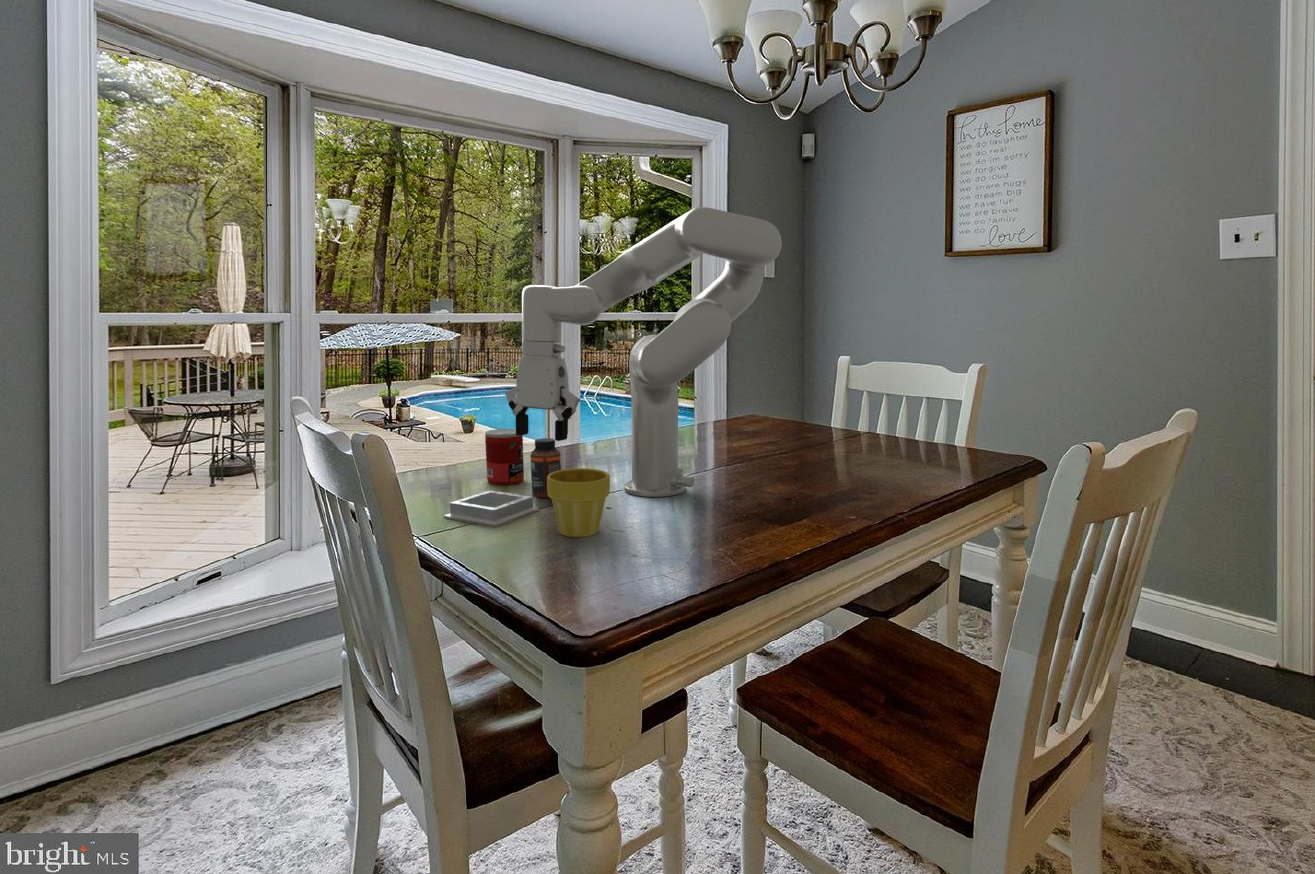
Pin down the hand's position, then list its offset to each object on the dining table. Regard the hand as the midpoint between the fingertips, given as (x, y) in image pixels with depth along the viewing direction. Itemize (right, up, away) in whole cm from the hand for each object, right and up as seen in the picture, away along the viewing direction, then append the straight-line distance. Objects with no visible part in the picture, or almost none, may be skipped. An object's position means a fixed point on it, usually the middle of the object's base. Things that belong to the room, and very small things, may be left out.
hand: (541, 437), depth 145 cm
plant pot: (+10, -16, -22) cm, 29 cm away
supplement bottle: (+1, -12, +2) cm, 12 cm away
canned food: (-10, -10, +14) cm, 19 cm away
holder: (-7, -14, -12) cm, 20 cm away
